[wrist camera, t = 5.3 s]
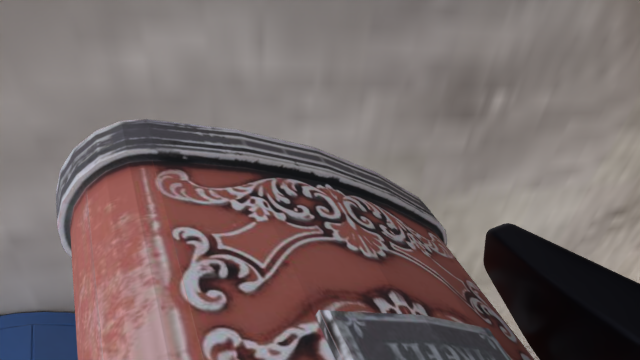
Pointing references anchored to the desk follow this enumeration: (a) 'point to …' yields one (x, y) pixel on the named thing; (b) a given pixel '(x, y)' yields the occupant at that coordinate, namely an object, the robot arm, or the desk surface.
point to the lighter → (258, 255)
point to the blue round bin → (38, 336)
